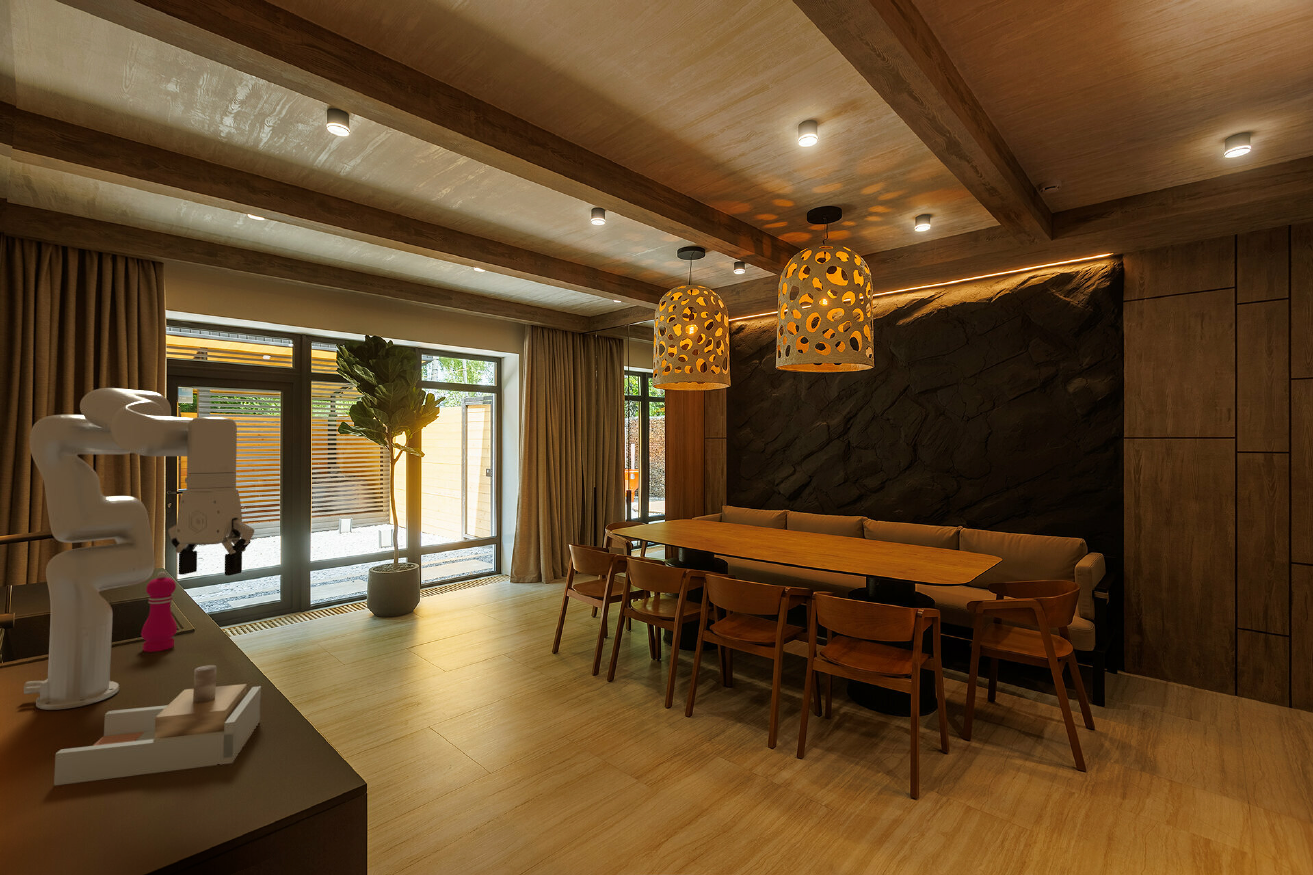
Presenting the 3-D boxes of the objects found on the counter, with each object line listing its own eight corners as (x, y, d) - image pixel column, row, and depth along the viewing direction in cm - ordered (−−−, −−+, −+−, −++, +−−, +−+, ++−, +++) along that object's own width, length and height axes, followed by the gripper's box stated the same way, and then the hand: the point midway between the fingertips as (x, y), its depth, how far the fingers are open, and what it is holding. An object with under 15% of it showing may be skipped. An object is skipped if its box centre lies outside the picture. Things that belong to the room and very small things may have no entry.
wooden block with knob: (153, 758, 101) (156, 683, 101) (182, 726, 112) (185, 659, 112) (223, 750, 104) (226, 677, 104) (245, 720, 115) (248, 654, 116)
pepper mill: (155, 653, 153) (159, 575, 153) (133, 651, 154) (136, 573, 155) (183, 644, 160) (186, 569, 160) (161, 642, 161) (164, 568, 162)
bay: (54, 785, 95) (56, 740, 95) (107, 738, 110) (109, 699, 110) (232, 762, 103) (234, 721, 103) (259, 721, 118) (261, 686, 118)
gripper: (152, 483, 110) (151, 576, 110) (235, 483, 108) (234, 578, 107) (190, 481, 118) (188, 569, 117) (268, 481, 115) (267, 570, 115)
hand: (210, 573), depth 112 cm, fingers open, 9 cm apart
